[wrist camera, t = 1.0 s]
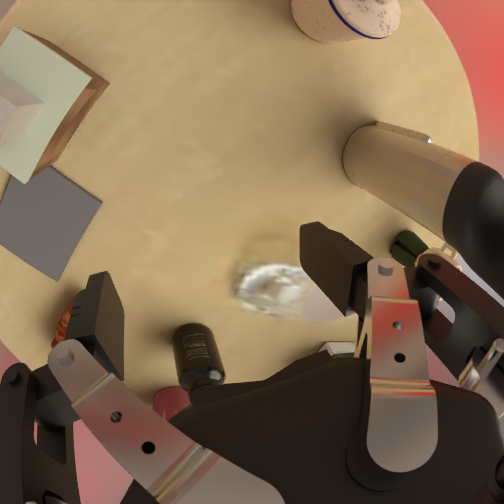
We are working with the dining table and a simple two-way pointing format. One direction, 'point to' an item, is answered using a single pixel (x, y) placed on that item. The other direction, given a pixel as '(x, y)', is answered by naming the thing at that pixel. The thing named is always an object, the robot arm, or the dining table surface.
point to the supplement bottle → (197, 359)
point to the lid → (32, 99)
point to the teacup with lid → (346, 19)
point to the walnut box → (74, 113)
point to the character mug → (419, 251)
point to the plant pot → (170, 401)
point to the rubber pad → (45, 219)
